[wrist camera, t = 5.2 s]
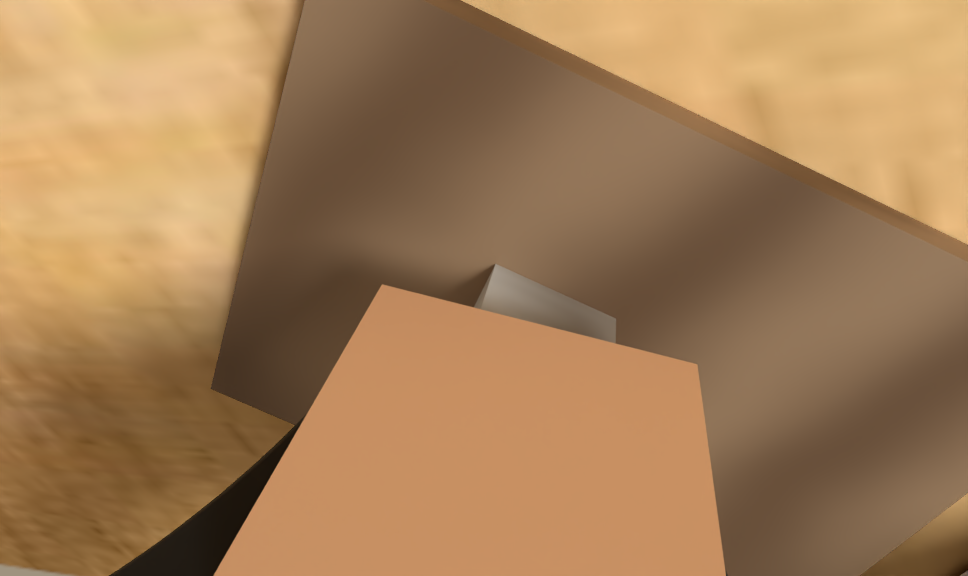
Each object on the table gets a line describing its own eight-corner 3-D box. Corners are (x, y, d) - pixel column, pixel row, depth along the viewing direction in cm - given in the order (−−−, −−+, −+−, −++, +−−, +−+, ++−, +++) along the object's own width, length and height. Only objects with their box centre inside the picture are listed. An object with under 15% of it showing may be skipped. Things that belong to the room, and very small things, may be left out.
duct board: (1117, 317, 15) (1293, 484, 11) (775, 598, 21) (808, 765, 17) (340, -58, 14) (222, -23, 10) (231, 362, 20) (135, 484, 16)
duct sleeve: (697, 364, 12) (747, 738, 7) (607, 561, 15) (596, 919, 10) (382, 283, 12) (207, 587, 7) (357, 493, 15) (222, 809, 10)
